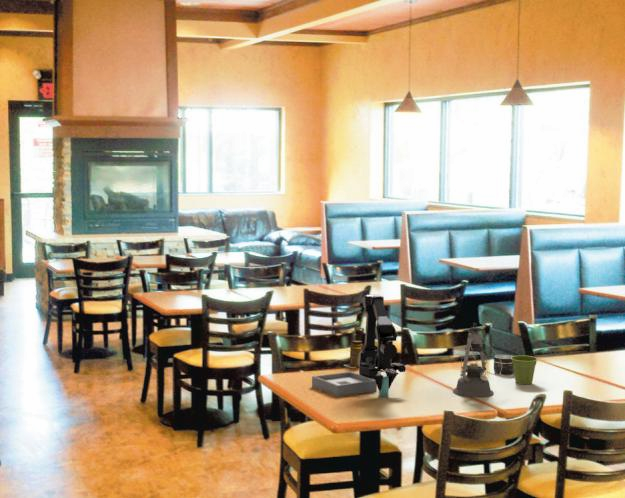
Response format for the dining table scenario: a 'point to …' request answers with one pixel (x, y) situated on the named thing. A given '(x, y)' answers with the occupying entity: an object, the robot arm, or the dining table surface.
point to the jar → (503, 364)
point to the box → (344, 383)
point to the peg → (384, 387)
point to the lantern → (474, 370)
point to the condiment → (354, 353)
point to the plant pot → (524, 368)
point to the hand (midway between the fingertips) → (383, 389)
